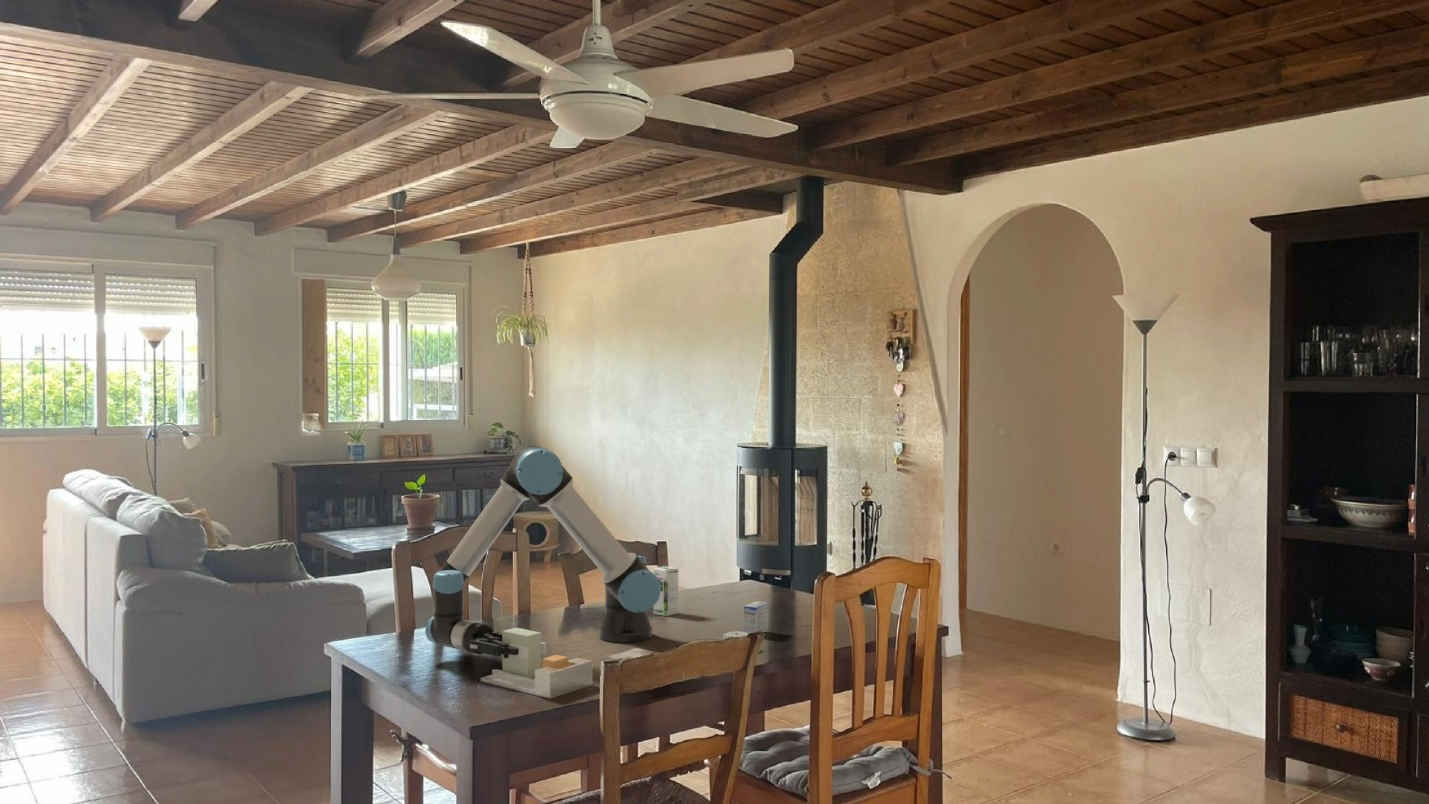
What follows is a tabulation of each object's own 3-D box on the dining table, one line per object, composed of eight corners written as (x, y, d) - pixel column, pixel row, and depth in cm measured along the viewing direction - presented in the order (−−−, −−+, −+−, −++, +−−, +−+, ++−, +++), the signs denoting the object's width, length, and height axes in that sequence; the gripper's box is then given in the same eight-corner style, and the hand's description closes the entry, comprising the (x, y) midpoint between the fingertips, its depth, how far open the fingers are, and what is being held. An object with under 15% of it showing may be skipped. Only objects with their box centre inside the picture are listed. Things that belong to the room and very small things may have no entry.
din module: (516, 667, 263) (516, 627, 263) (541, 673, 258) (541, 632, 257) (502, 671, 260) (502, 630, 259) (527, 677, 254) (527, 636, 254)
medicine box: (755, 630, 310) (755, 600, 310) (768, 632, 308) (768, 602, 308) (743, 636, 303) (743, 606, 303) (757, 637, 301) (757, 607, 301)
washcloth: (634, 656, 283) (634, 644, 282) (686, 667, 272) (686, 655, 272) (603, 665, 273) (603, 653, 273) (655, 677, 262) (655, 665, 262)
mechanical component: (756, 654, 283) (753, 645, 293) (756, 638, 283) (753, 629, 293) (719, 655, 283) (718, 645, 293) (719, 638, 283) (718, 629, 293)
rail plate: (523, 668, 268) (523, 646, 268) (592, 684, 254) (592, 660, 254) (480, 681, 257) (480, 657, 257) (550, 698, 243) (550, 673, 243)
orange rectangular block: (556, 679, 255) (556, 654, 255) (568, 682, 252) (568, 657, 252) (542, 683, 251) (542, 658, 251) (554, 686, 249) (554, 661, 249)
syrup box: (652, 613, 332) (652, 567, 332) (666, 610, 336) (666, 565, 336) (665, 616, 328) (665, 570, 328) (679, 613, 333) (679, 567, 332)
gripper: (499, 645, 276) (563, 659, 262) (445, 659, 262) (509, 674, 248) (499, 616, 276) (563, 628, 262) (445, 629, 262) (509, 642, 248)
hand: (537, 651), depth 255 cm, fingers closed on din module, 4 cm apart
